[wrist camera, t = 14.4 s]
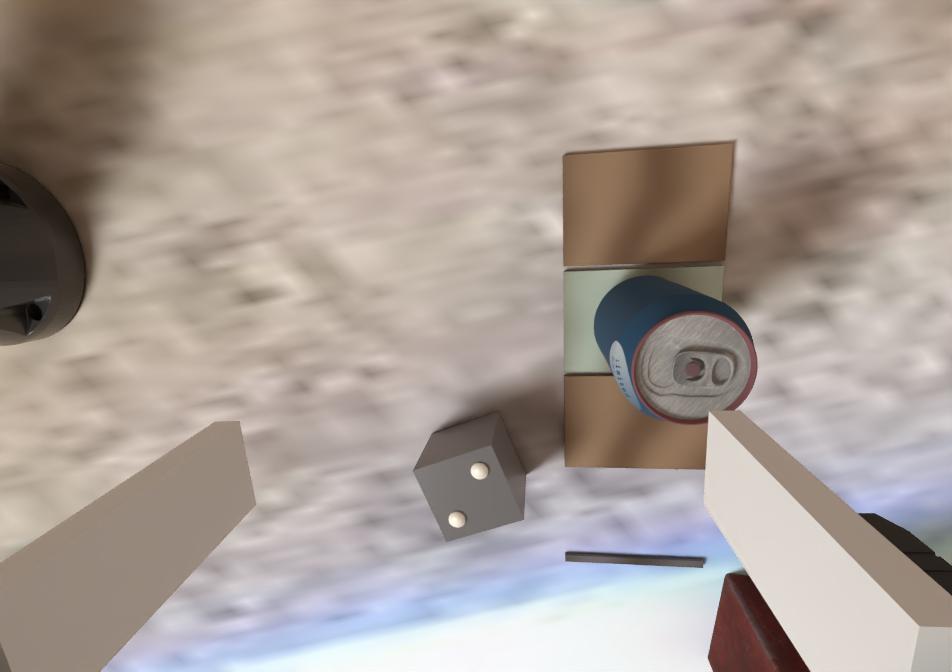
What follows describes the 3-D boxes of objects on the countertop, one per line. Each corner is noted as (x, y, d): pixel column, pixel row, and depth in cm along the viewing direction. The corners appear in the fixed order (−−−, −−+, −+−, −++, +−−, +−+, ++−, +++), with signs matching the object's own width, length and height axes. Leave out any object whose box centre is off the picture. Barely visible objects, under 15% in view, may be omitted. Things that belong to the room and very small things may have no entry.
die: (460, 495, 39) (446, 543, 33) (431, 433, 38) (412, 471, 32) (526, 475, 38) (523, 521, 32) (498, 410, 37) (491, 446, 31)
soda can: (586, 362, 35) (611, 429, 23) (597, 270, 33) (629, 293, 22) (681, 370, 34) (756, 444, 23) (697, 276, 32) (786, 304, 21)
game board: (565, 558, 39) (565, 561, 39) (562, 156, 32) (563, 155, 32) (701, 565, 38) (703, 567, 38) (731, 144, 31) (733, 143, 30)
